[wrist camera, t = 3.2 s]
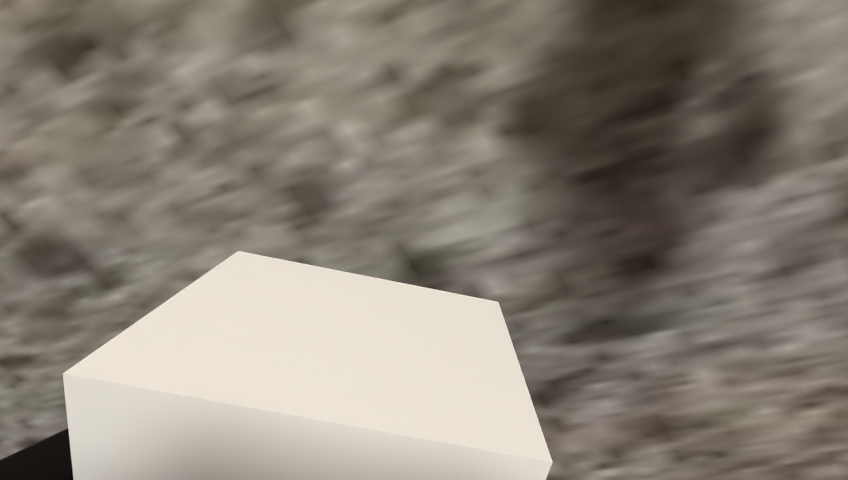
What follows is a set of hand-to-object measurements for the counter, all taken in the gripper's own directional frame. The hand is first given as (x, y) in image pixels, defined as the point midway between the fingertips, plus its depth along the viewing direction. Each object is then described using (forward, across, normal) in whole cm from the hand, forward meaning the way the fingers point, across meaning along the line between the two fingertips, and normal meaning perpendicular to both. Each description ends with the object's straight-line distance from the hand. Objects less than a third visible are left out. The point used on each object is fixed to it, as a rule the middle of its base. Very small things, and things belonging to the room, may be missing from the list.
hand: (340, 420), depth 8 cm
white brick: (+1, 0, 0) cm, 1 cm away
